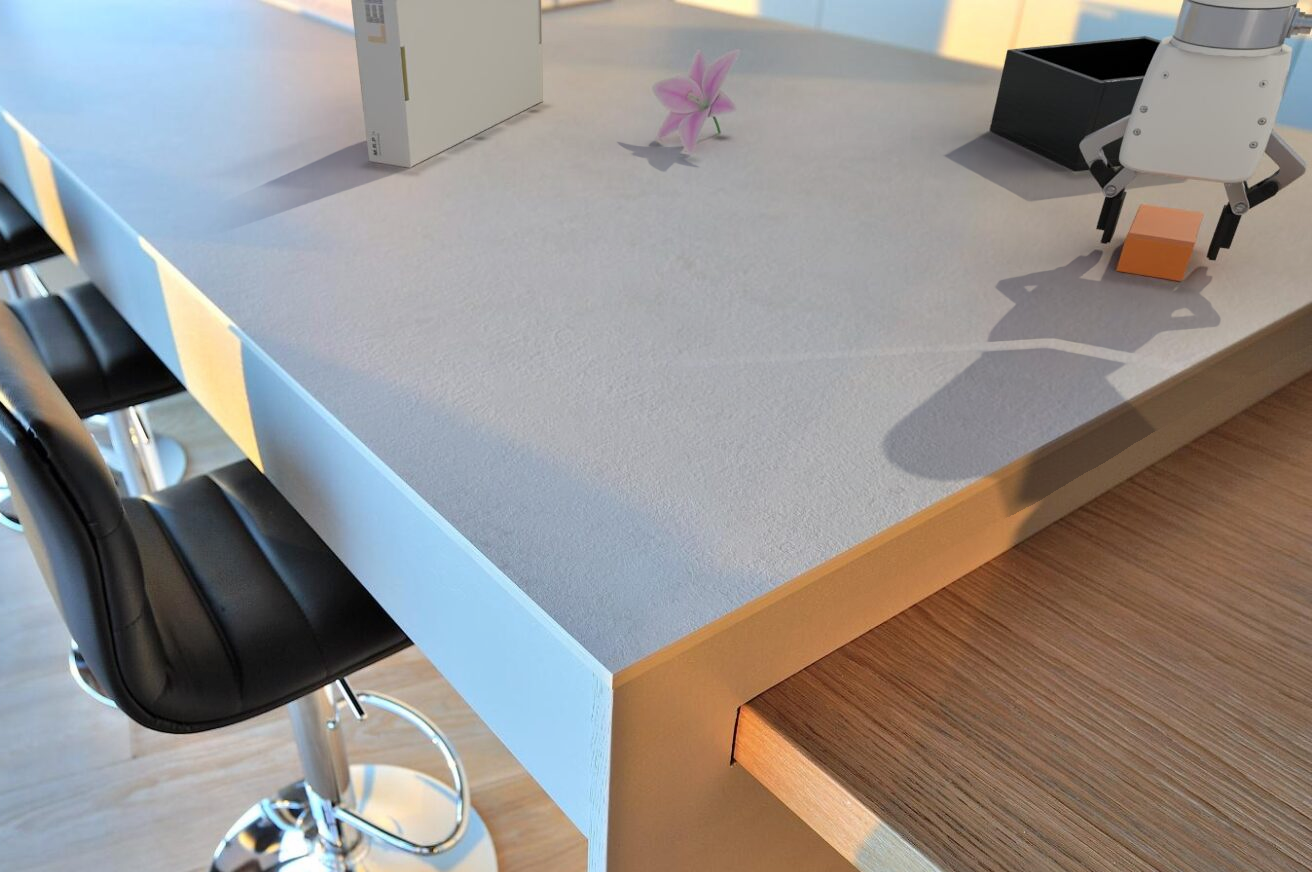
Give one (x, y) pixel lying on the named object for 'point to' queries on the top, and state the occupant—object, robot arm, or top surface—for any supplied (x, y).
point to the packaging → (443, 71)
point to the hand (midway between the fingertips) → (1158, 245)
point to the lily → (695, 97)
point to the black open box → (1070, 95)
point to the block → (1160, 242)
